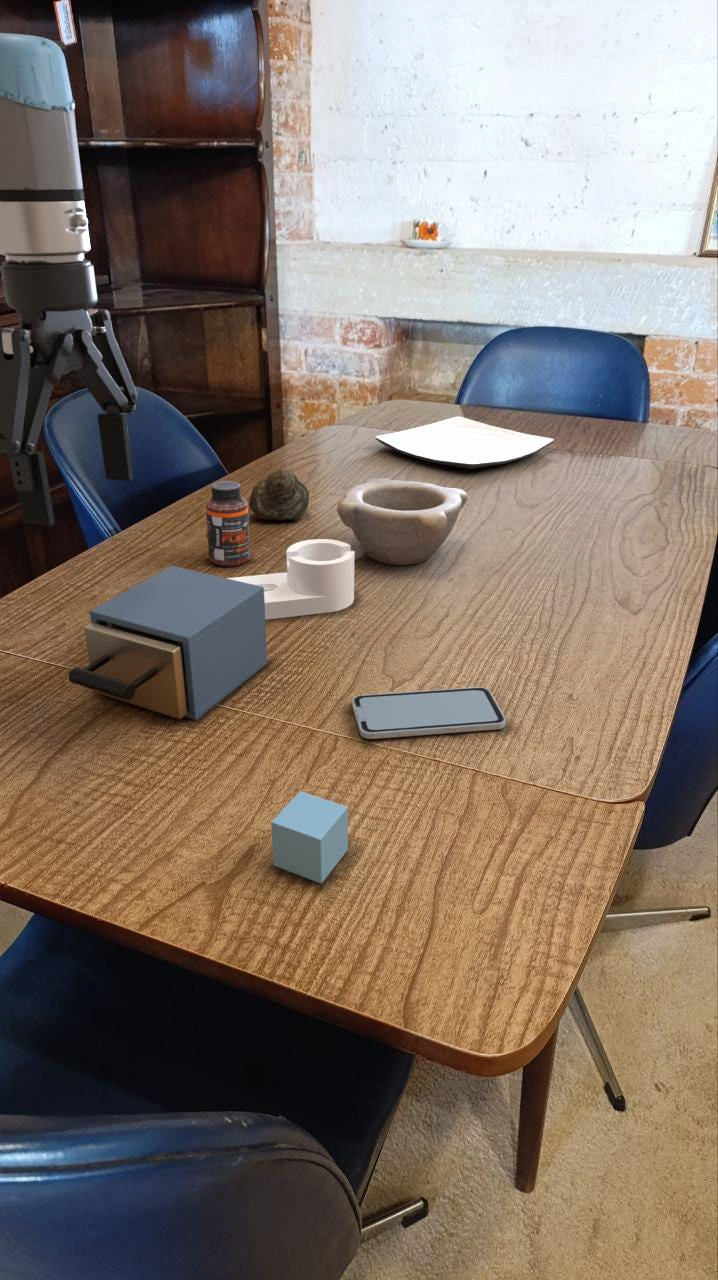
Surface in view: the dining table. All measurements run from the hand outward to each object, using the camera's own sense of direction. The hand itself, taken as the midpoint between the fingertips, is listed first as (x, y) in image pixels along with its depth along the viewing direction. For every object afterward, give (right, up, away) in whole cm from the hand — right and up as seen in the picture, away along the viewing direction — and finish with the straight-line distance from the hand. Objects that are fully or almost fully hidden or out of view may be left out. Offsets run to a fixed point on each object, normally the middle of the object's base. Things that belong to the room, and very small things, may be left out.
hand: (82, 500), depth 84 cm
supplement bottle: (+8, -2, +44) cm, 44 cm away
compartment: (+7, -17, +14) cm, 23 cm away
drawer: (+5, -19, +10) cm, 22 cm away
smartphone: (+34, -21, +7) cm, 40 cm away
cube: (+23, -31, -12) cm, 40 cm away
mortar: (+33, -1, +46) cm, 57 cm away
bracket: (+16, -9, +31) cm, 36 cm away
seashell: (+14, +8, +62) cm, 64 cm away
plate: (+48, +25, +95) cm, 109 cm away
